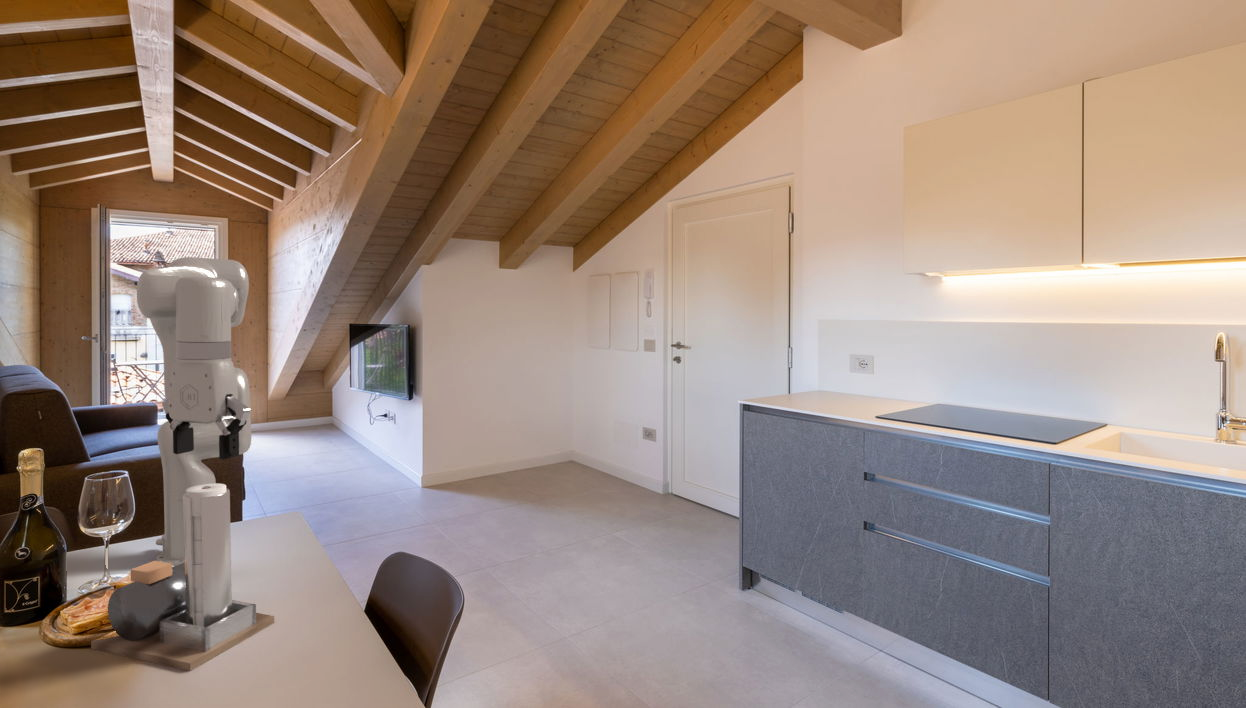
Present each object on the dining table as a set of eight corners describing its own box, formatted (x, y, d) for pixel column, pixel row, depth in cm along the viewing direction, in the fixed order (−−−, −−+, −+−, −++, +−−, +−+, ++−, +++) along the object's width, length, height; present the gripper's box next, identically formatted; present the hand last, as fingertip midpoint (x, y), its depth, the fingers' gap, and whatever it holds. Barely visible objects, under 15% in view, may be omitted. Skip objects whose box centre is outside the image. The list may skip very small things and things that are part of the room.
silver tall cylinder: (240, 627, 107) (238, 484, 106) (201, 645, 101) (198, 494, 100) (217, 619, 110) (214, 479, 108) (177, 636, 104) (174, 488, 103)
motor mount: (91, 648, 102) (89, 576, 101) (184, 605, 117) (182, 542, 117) (190, 670, 96) (188, 594, 96) (274, 622, 112) (273, 556, 111)
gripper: (141, 351, 101) (144, 455, 102) (225, 356, 97) (227, 465, 98) (185, 349, 108) (187, 446, 110) (265, 353, 104) (266, 454, 105)
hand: (206, 455), depth 104 cm, fingers open, 9 cm apart
